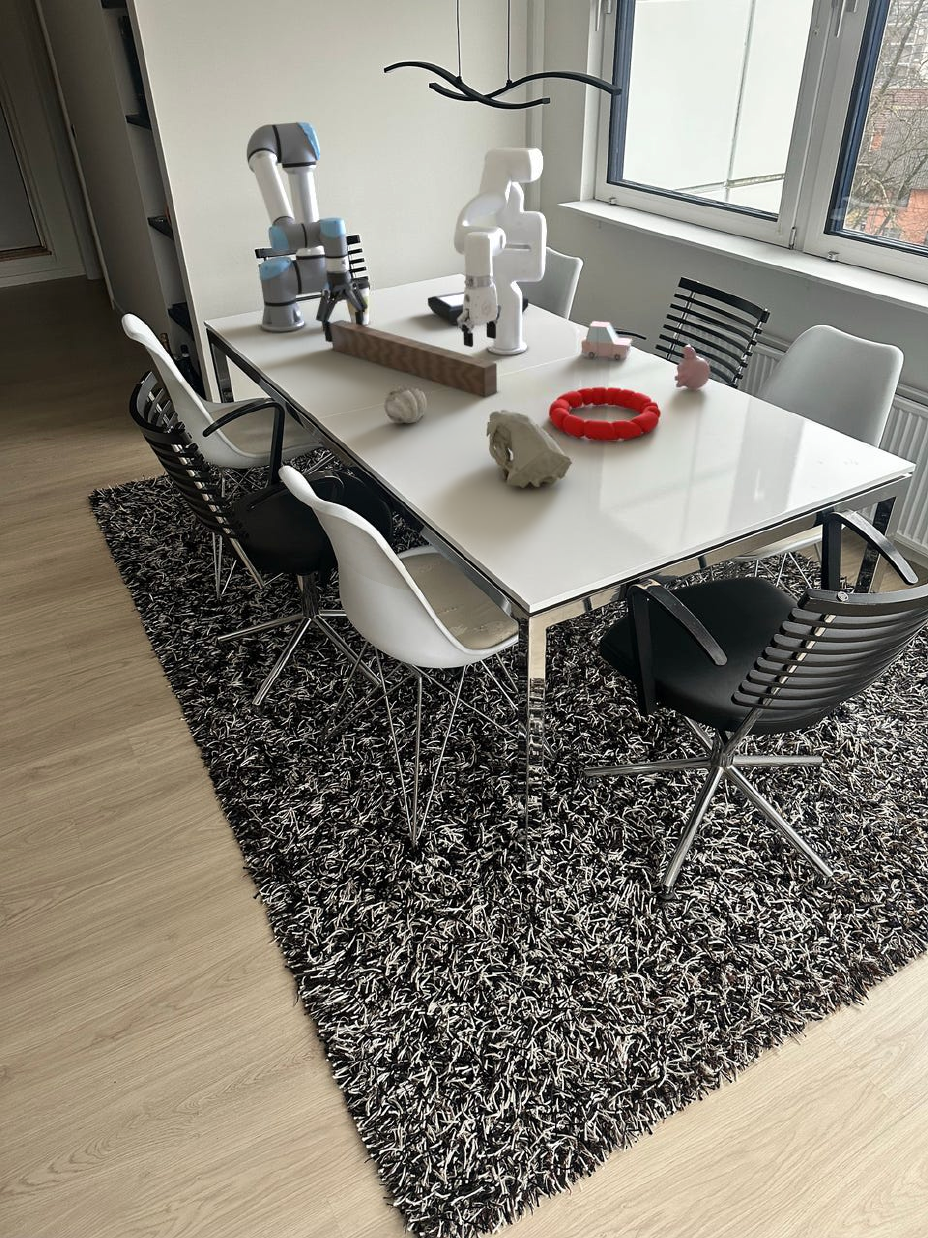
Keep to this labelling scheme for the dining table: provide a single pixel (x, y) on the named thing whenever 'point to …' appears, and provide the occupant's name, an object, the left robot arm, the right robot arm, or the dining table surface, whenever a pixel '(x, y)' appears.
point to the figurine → (692, 370)
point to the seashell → (405, 405)
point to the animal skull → (525, 450)
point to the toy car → (605, 342)
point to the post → (416, 357)
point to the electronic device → (454, 306)
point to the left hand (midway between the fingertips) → (344, 336)
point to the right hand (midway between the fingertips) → (480, 341)
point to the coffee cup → (364, 290)
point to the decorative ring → (604, 428)
